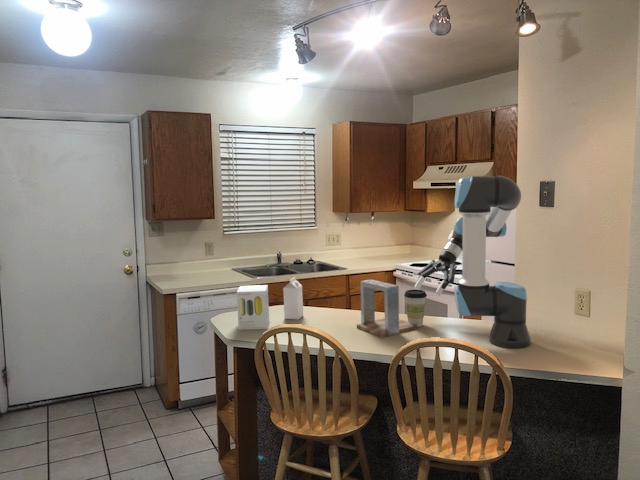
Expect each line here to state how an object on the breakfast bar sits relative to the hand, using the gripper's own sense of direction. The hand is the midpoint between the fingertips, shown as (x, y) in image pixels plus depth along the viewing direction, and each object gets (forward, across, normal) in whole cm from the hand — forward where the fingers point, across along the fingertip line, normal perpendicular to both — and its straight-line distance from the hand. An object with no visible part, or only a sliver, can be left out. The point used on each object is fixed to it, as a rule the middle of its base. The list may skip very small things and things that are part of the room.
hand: (426, 291), depth 229 cm
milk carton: (+41, +44, +22) cm, 64 cm away
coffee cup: (+15, -1, -4) cm, 16 cm away
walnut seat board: (+25, +3, +5) cm, 25 cm away
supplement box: (+56, +44, +37) cm, 80 cm away
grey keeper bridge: (+27, +3, +8) cm, 29 cm away
